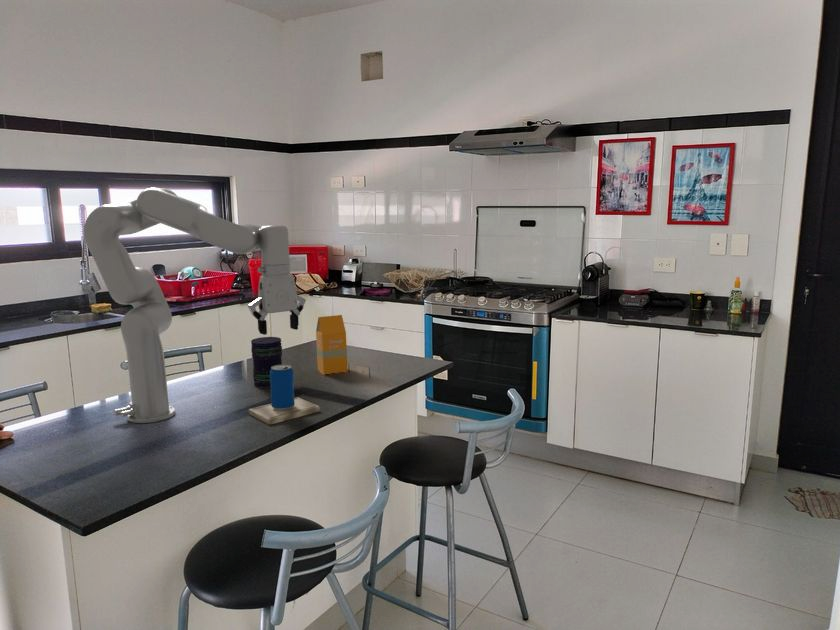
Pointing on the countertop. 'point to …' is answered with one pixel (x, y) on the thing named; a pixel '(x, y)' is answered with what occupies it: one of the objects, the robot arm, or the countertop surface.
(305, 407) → the bamboo board
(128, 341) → the robot arm
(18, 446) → the countertop surface
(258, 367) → the storage jar
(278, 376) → the beverage can
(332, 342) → the orange juice
